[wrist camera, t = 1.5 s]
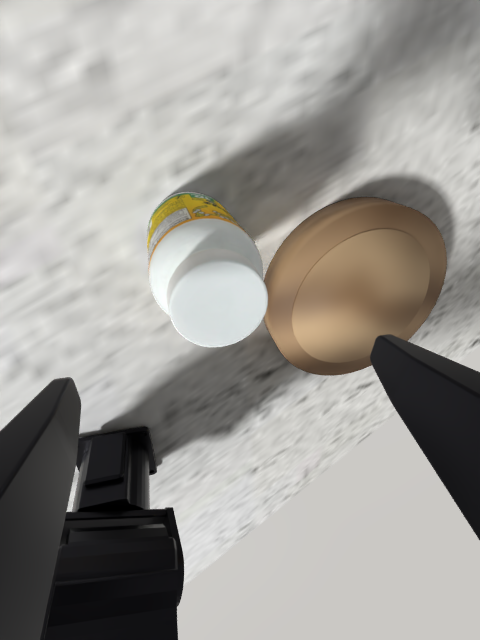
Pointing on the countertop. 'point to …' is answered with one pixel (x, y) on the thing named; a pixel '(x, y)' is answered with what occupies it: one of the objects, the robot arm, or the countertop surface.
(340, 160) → the countertop surface
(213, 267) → the supplement bottle
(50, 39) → the countertop surface
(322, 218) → the plate
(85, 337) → the countertop surface
